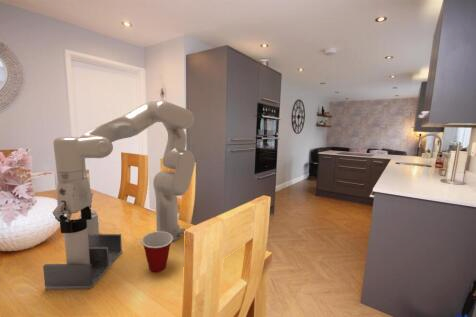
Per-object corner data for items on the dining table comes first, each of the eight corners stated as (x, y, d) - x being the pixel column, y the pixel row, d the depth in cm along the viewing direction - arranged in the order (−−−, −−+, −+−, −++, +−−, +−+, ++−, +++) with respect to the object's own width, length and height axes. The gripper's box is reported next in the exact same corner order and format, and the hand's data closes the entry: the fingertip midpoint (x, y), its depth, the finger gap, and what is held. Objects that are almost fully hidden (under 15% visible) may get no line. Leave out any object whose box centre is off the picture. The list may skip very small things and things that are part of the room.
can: (89, 241, 100) (87, 215, 98) (75, 239, 101) (73, 214, 100) (102, 233, 107) (101, 210, 105) (89, 232, 108) (88, 208, 107)
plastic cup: (155, 282, 75) (154, 248, 73) (135, 270, 80) (134, 239, 79) (179, 265, 84) (179, 235, 82) (160, 256, 90) (160, 228, 88)
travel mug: (65, 284, 71) (60, 225, 69) (70, 272, 77) (65, 217, 74) (89, 278, 74) (85, 221, 72) (91, 267, 80) (87, 214, 77)
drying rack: (121, 252, 92) (121, 234, 91) (90, 288, 71) (89, 265, 70) (87, 252, 91) (85, 234, 90) (45, 289, 70) (43, 266, 69)
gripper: (64, 182, 63) (70, 238, 66) (99, 170, 80) (103, 215, 83) (37, 182, 63) (44, 239, 65) (78, 170, 80) (82, 215, 82)
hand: (77, 225), depth 74 cm, fingers open, 9 cm apart
